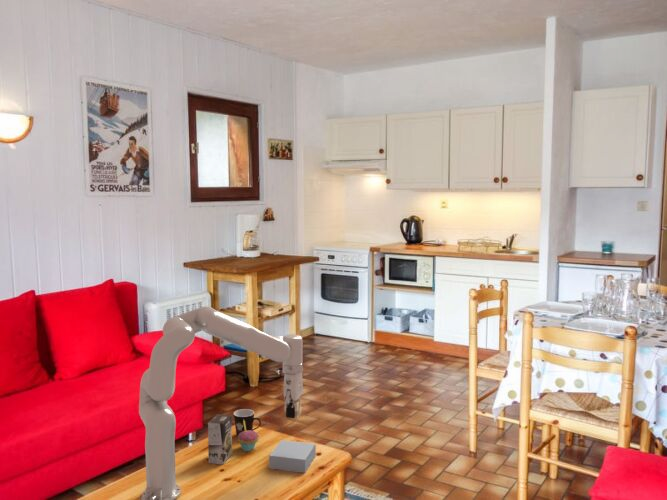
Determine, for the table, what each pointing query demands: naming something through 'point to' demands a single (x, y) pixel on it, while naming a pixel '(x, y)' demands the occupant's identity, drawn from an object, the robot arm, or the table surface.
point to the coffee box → (220, 438)
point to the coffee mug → (248, 418)
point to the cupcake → (247, 439)
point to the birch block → (297, 408)
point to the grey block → (292, 456)
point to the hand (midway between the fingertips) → (292, 414)
